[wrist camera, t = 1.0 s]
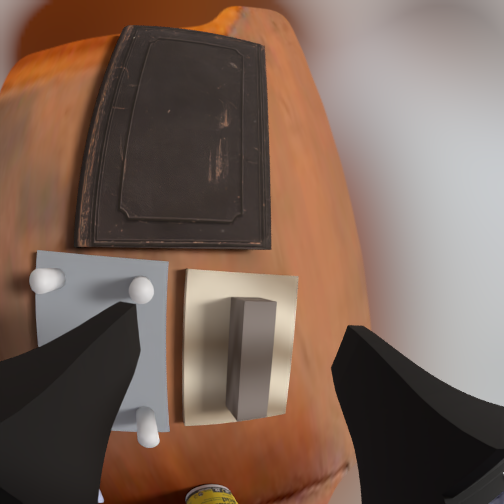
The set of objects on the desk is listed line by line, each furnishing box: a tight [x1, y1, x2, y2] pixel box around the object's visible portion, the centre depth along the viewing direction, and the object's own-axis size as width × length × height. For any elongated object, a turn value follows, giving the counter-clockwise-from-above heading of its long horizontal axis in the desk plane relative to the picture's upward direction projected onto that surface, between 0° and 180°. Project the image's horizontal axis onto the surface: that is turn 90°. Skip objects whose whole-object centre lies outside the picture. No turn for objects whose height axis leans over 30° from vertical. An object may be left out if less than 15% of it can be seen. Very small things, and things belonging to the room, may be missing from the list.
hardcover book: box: [74, 25, 271, 250], centre depth 21 cm, size 16×23×2 cm
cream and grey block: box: [182, 269, 298, 426], centre depth 22 cm, size 14×10×4 cm
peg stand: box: [29, 250, 170, 448], centre depth 16 cm, size 15×11×5 cm
